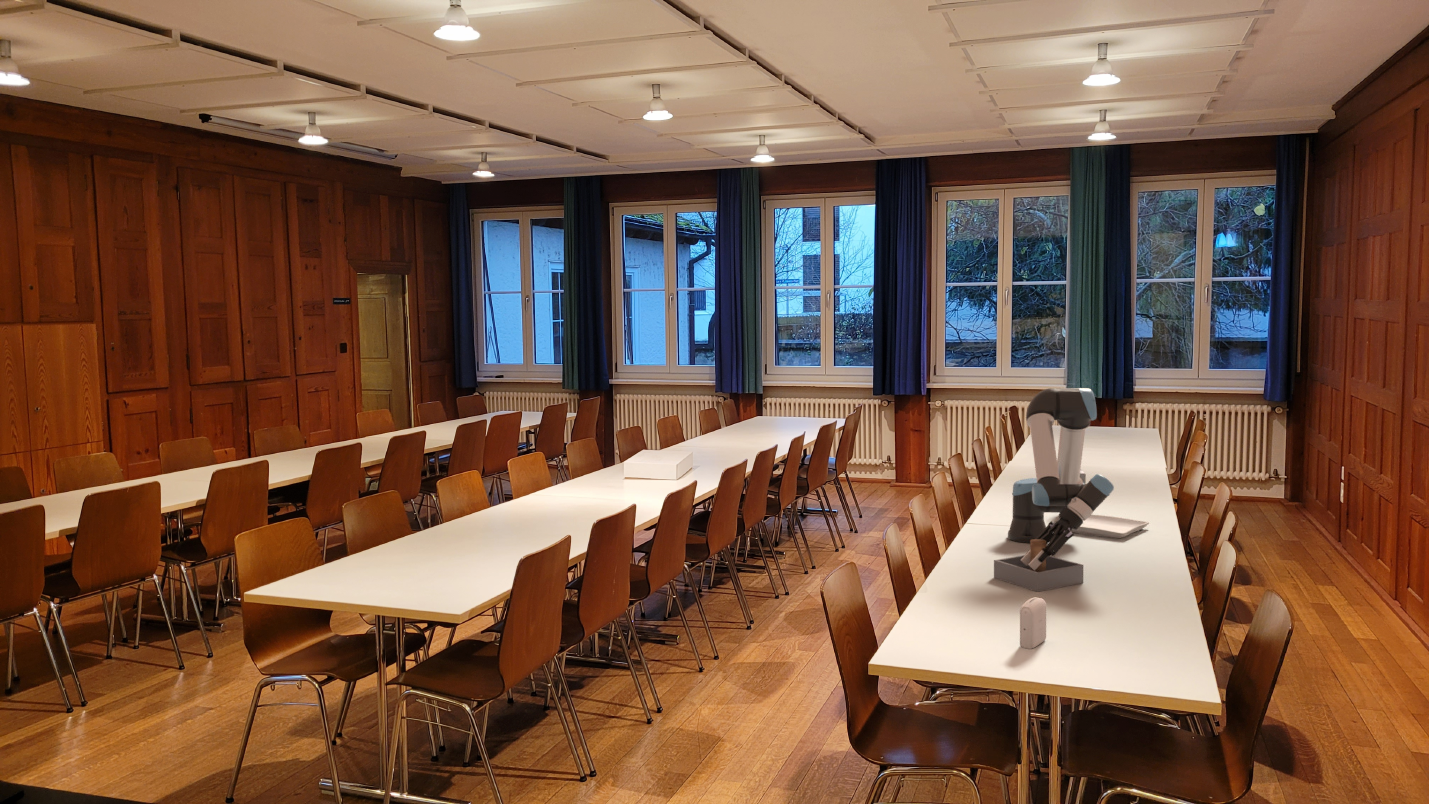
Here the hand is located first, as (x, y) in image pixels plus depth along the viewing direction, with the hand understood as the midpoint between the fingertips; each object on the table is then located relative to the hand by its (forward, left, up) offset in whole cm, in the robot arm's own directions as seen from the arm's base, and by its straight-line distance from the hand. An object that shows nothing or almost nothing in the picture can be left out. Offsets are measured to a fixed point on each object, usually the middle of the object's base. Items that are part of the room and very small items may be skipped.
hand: (1027, 565), depth 338 cm
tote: (+1, +3, -5) cm, 6 cm away
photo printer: (+47, -44, -6) cm, 64 cm away
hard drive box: (-65, +88, -6) cm, 110 cm away
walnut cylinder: (+1, +3, -4) cm, 5 cm away
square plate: (-40, +78, -6) cm, 88 cm away
